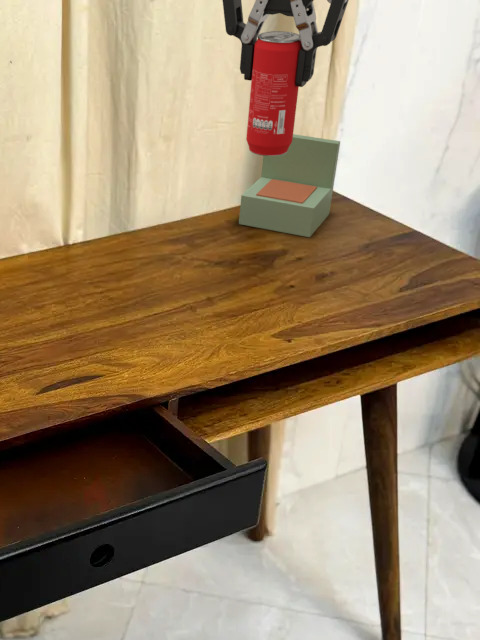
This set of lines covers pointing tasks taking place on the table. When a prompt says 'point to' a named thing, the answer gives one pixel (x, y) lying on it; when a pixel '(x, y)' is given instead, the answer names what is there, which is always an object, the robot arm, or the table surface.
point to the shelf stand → (293, 188)
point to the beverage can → (273, 93)
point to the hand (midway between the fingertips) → (275, 81)
